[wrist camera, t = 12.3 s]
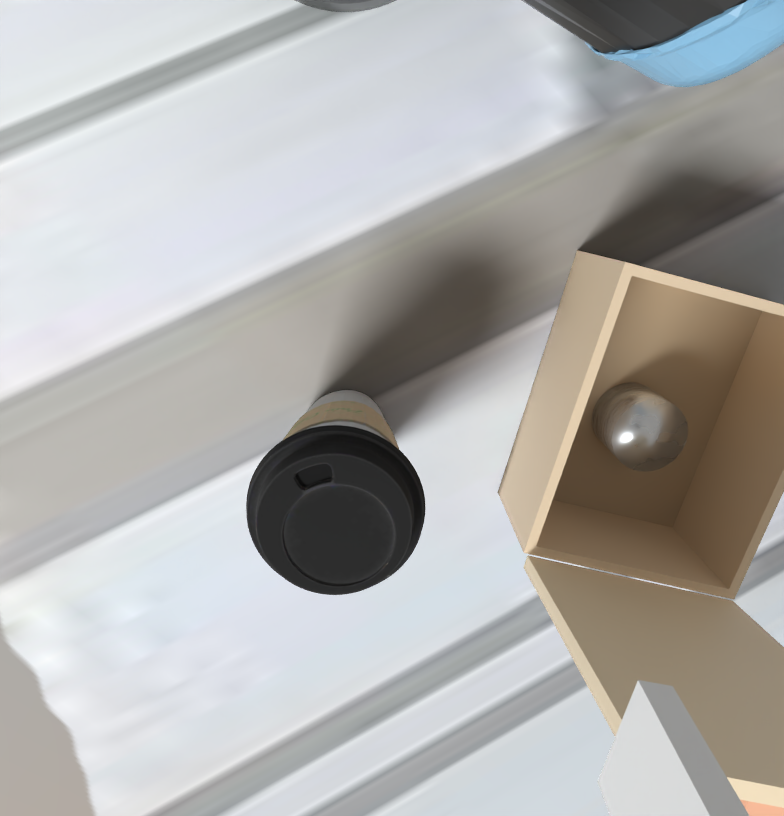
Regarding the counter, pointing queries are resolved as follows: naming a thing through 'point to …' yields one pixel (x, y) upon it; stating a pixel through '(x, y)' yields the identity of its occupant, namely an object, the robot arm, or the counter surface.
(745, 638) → the lid flap
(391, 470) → the coffee cup
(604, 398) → the metal ball
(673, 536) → the carton
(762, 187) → the counter surface
